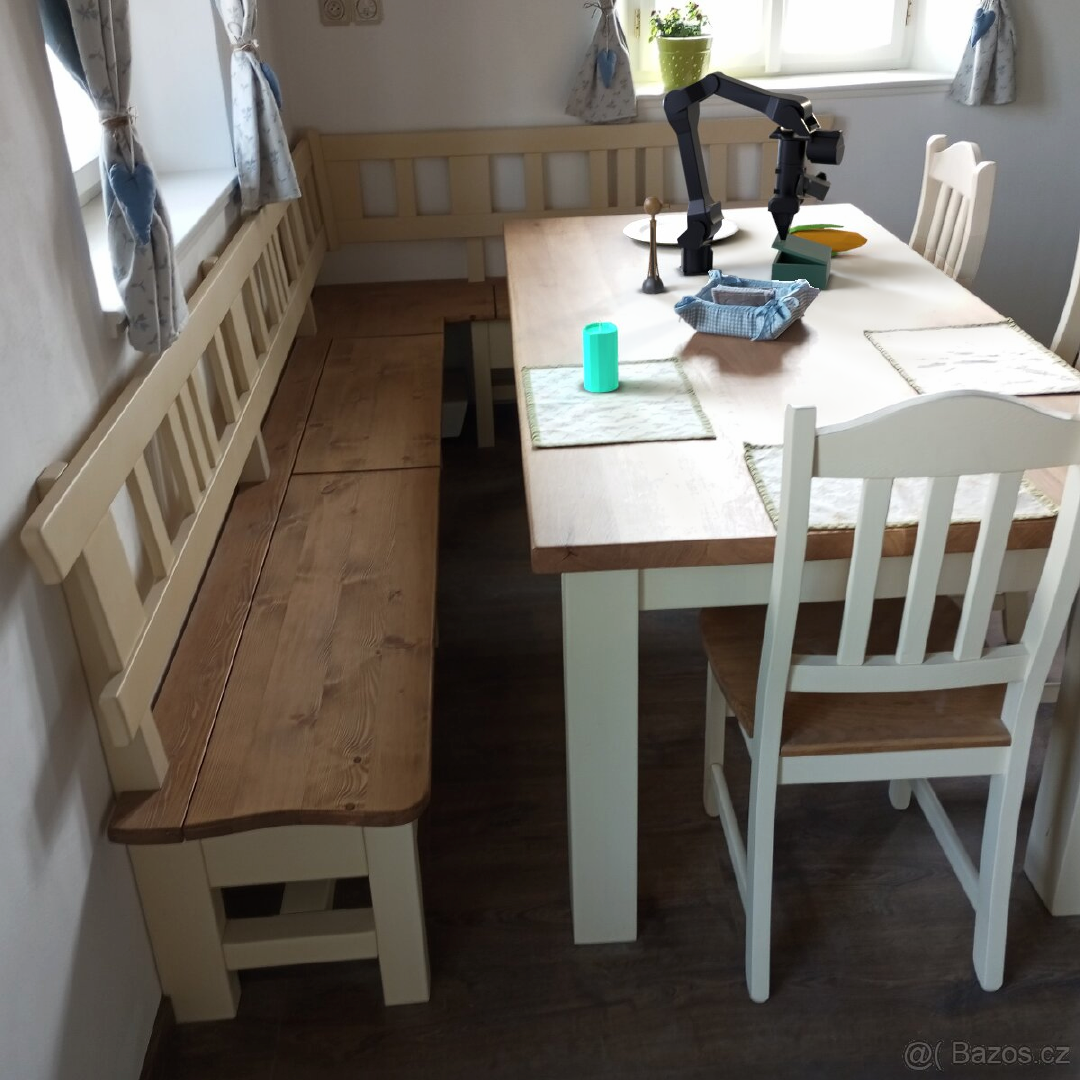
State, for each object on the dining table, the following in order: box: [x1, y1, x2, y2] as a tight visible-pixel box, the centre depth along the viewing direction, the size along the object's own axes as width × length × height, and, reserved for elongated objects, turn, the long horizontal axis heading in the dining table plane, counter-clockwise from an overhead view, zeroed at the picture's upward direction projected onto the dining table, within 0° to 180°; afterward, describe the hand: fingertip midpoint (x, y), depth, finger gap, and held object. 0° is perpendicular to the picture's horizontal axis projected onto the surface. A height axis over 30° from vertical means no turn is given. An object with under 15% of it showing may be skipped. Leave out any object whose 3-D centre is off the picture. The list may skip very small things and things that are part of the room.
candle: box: [582, 318, 620, 394], centre depth 186 cm, size 6×6×12 cm
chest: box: [770, 250, 832, 291], centre depth 237 cm, size 11×12×5 cm
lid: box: [770, 224, 832, 265], centre depth 234 cm, size 12×12×4 cm
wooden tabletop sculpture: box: [641, 196, 671, 295], centre depth 233 cm, size 6×5×20 cm
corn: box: [789, 223, 868, 257], centre depth 254 cm, size 7×8×20 cm
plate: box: [623, 214, 739, 247], centre depth 279 cm, size 29×29×2 cm
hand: (784, 237), depth 235 cm, fingers closed on lid, 5 cm apart
